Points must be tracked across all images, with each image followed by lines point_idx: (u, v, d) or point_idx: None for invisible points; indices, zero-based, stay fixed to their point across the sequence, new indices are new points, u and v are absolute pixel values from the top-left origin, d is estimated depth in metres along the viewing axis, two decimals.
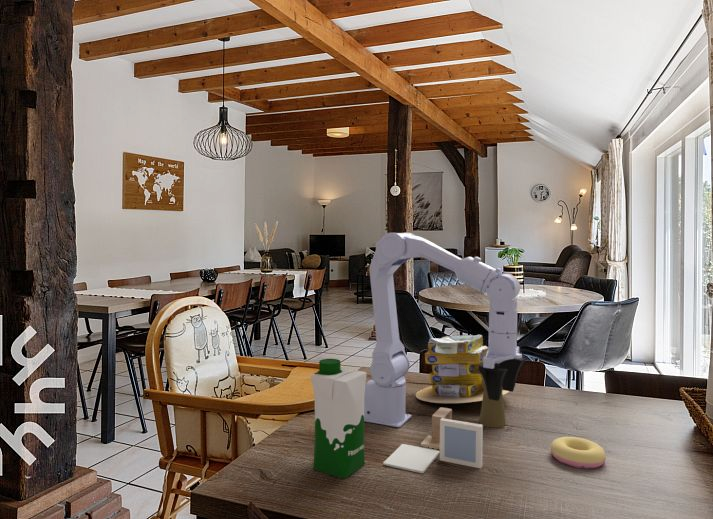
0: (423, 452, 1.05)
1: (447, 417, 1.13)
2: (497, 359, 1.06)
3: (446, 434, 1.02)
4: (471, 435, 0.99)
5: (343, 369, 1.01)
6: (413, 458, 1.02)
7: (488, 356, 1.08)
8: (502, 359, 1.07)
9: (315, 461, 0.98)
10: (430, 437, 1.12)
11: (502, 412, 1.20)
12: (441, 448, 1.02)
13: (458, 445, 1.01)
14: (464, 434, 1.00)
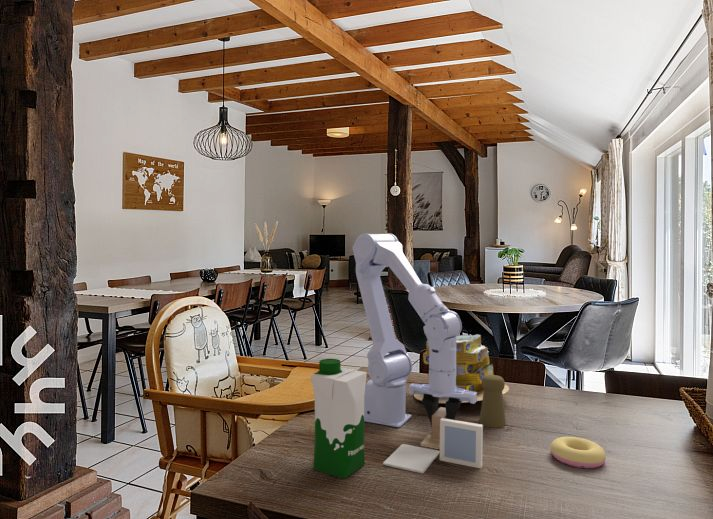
0: (423, 452, 1.05)
1: None
2: (416, 388, 1.15)
3: (446, 434, 1.02)
4: (471, 435, 0.99)
5: (343, 369, 1.01)
6: (413, 458, 1.02)
7: (422, 385, 1.16)
8: (421, 390, 1.14)
9: (315, 461, 0.98)
10: (430, 437, 1.12)
11: (502, 412, 1.20)
12: (441, 448, 1.02)
13: (458, 445, 1.01)
14: (464, 434, 1.00)
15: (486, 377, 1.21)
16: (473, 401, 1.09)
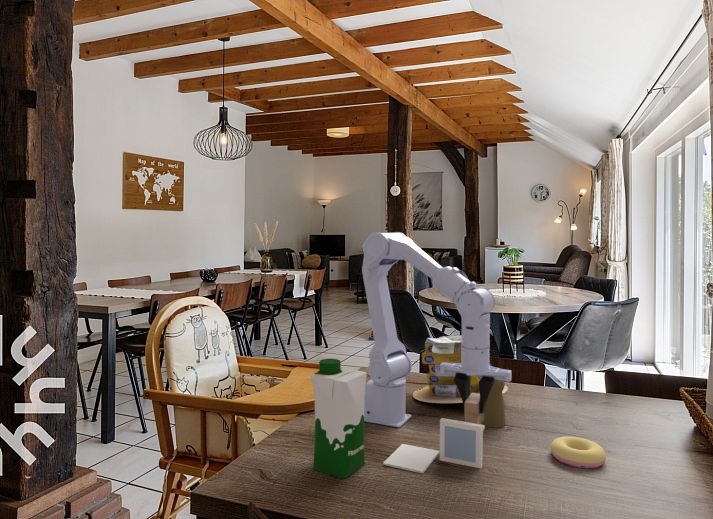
0: (423, 452, 1.05)
1: None
2: (447, 367, 1.11)
3: (446, 434, 1.02)
4: (471, 435, 0.99)
5: (343, 369, 1.01)
6: (413, 458, 1.02)
7: None
8: (453, 369, 1.10)
9: (315, 461, 0.98)
10: None
11: (502, 412, 1.20)
12: (441, 448, 1.02)
13: (458, 445, 1.01)
14: (464, 434, 1.00)
15: None
16: (508, 379, 1.06)
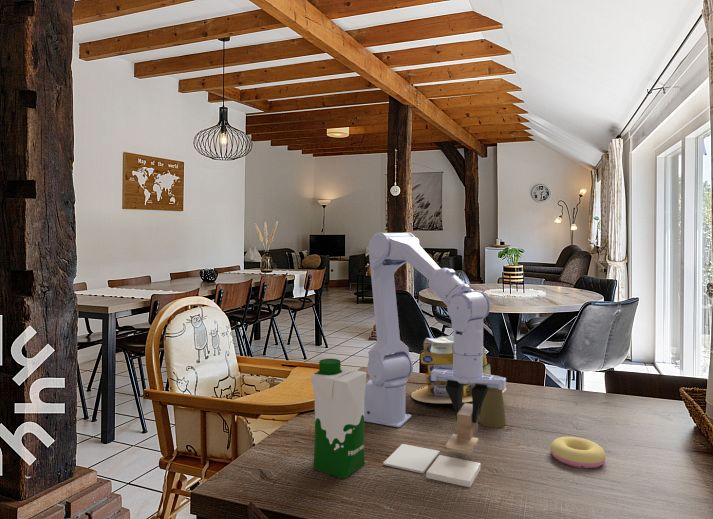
0: (423, 452, 1.05)
1: None
2: (439, 374, 1.06)
3: None
4: None
5: (343, 369, 1.01)
6: (413, 458, 1.02)
7: (445, 371, 1.08)
8: (444, 376, 1.05)
9: (315, 461, 0.98)
10: (455, 436, 1.04)
11: (502, 412, 1.20)
12: None
13: None
14: None
15: None
16: (502, 387, 1.01)
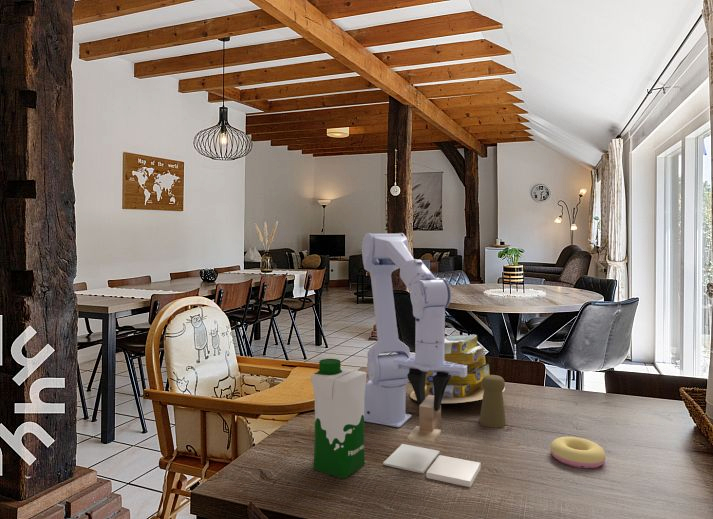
0: (423, 452, 1.05)
1: None
2: (401, 362, 1.05)
3: None
4: None
5: (343, 369, 1.01)
6: (413, 458, 1.02)
7: None
8: (406, 364, 1.04)
9: (315, 461, 0.98)
10: (418, 428, 1.04)
11: (502, 412, 1.20)
12: None
13: None
14: None
15: (486, 377, 1.21)
16: (463, 375, 1.00)
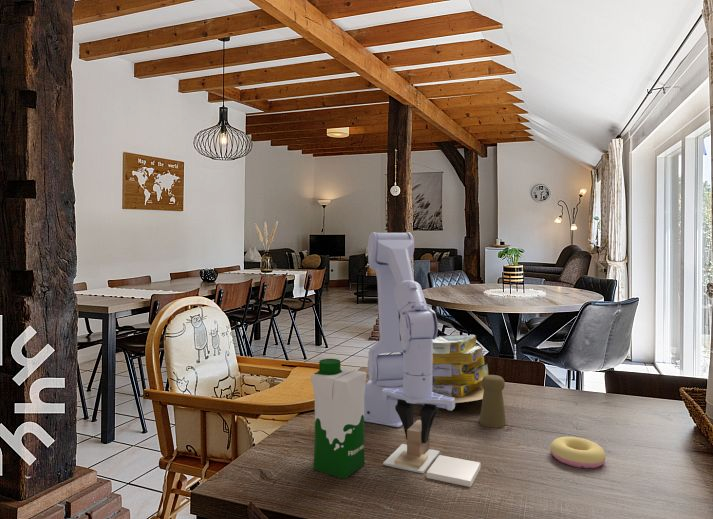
0: None
1: None
2: (389, 393, 1.05)
3: None
4: None
5: (343, 369, 1.01)
6: None
7: (396, 390, 1.07)
8: (394, 396, 1.04)
9: (315, 461, 0.98)
10: (405, 453, 1.03)
11: (502, 412, 1.20)
12: None
13: None
14: None
15: (486, 377, 1.21)
16: (450, 408, 1.00)
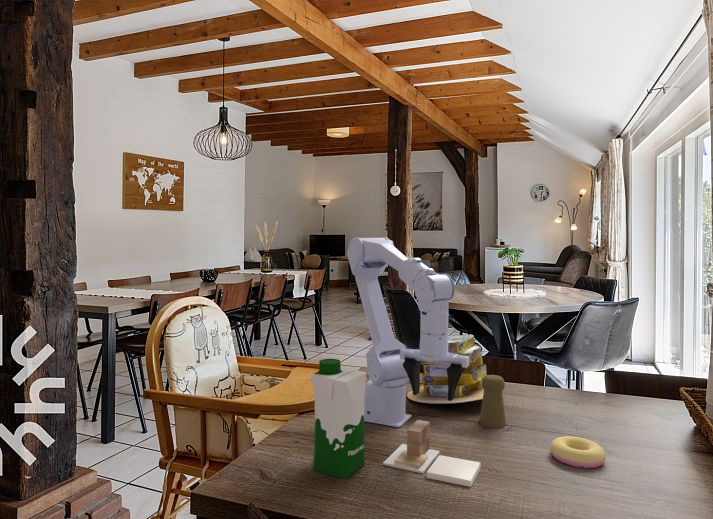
0: None
1: (424, 431, 1.04)
2: (407, 353, 1.11)
3: None
4: None
5: (343, 369, 1.01)
6: None
7: None
8: (412, 355, 1.10)
9: (315, 461, 0.98)
10: (405, 453, 1.03)
11: (502, 412, 1.20)
12: None
13: None
14: None
15: (486, 377, 1.21)
16: (465, 365, 1.06)
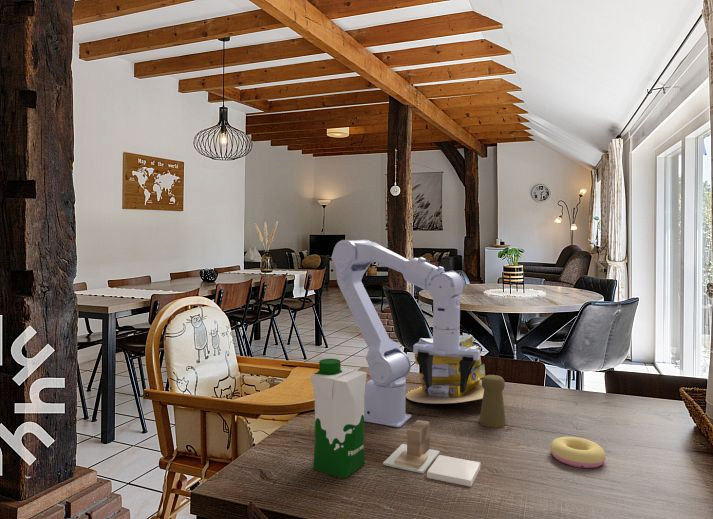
0: None
1: (424, 431, 1.04)
2: (420, 347, 1.16)
3: None
4: None
5: (343, 369, 1.01)
6: None
7: (426, 345, 1.18)
8: (425, 349, 1.15)
9: (315, 461, 0.98)
10: (405, 453, 1.03)
11: (502, 412, 1.20)
12: None
13: None
14: None
15: (486, 377, 1.21)
16: (477, 358, 1.11)
